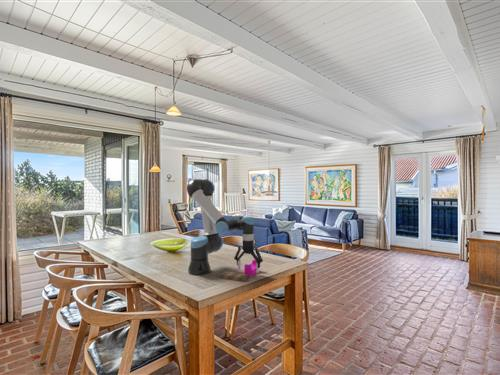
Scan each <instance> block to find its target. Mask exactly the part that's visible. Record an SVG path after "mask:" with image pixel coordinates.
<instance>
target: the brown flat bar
mask: <svg viewBox="0 0 500 375" xmlns="http://www.w3.org/2000/svg"><path fill="white" fill-rule="evenodd" d="M219 278H220V279H225V280H230V281H231V280H232V281H237V282H246V281H247V280H249V279H250V277H249V274H244V272H243V273H241V272H235V271H234V272H233V271H228V270H224V271H223V272H222V273H220V274H219Z"/></svg>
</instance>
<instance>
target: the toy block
mask: <svg viewBox="0 0 500 375" xmlns="http://www.w3.org/2000/svg"><path fill="white" fill-rule="evenodd" d="M256 263H257V261H256V260H255V259H253V260H252V261H251V263H249V264H244V272H243V274H249V278H250V277H252V276H254V275H255V274H257V273H256Z"/></svg>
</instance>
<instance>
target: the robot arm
mask: <svg viewBox="0 0 500 375" xmlns="http://www.w3.org/2000/svg"><path fill="white" fill-rule="evenodd" d="M186 193H187V195H188V196H189V198H190V199H191V200H192V201H195V203H196V204H198V206H199V207H200V211H201V212H200V213H201V218H202V225H203V231H204V233H203V234H202V235H200V236H199V235H198V236H196V237H195V236H194V237H192V239H191V240H190V245H189V246H190V261H189V265H188V268H187V270H188V274H190V275H196V276H199V275H206V274H209V273H210V272H211V265H210V263H209V254H212V253H216V252H218V251H220V250H221V249H222V247H223V245H224V240H223V237H222V236H221V235H219V234H225V233H229V232H234V231H242V245H239V246H238V247H237V251H236V253H235V256H234V257H233V260H235V261H236V266H237V271H241V265H242V263H241V258H242V257H243V256H244V255H251V256H252V257H253V260H256V261H257V263H256V273H255V274H258V273H260V268H261V263H262V262H264V260H263V258H262V256H261V253H260V251H259V248H258V247H255V246H254V245H255V244H254V242H255V241H254V238H255V236H254V235H255V233H254V229H255V222H254V217H253V216H243V217H242V219H240V218H229V219H228V220H227V219H226V218H225V216H224V215H223V214H222V213H221V212H220V211H219V210H218V208H217V207H216V205H214V204H213V203H212V198H213V197H214V195H213V194H214V193H215V184H214V182H212V181H211V180H210V179H205V178H204V179H197V178H195V179H194V178H193V179H191V180H190V181H189V182H188V183H187V185H186ZM241 251H242V252H241Z"/></svg>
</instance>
